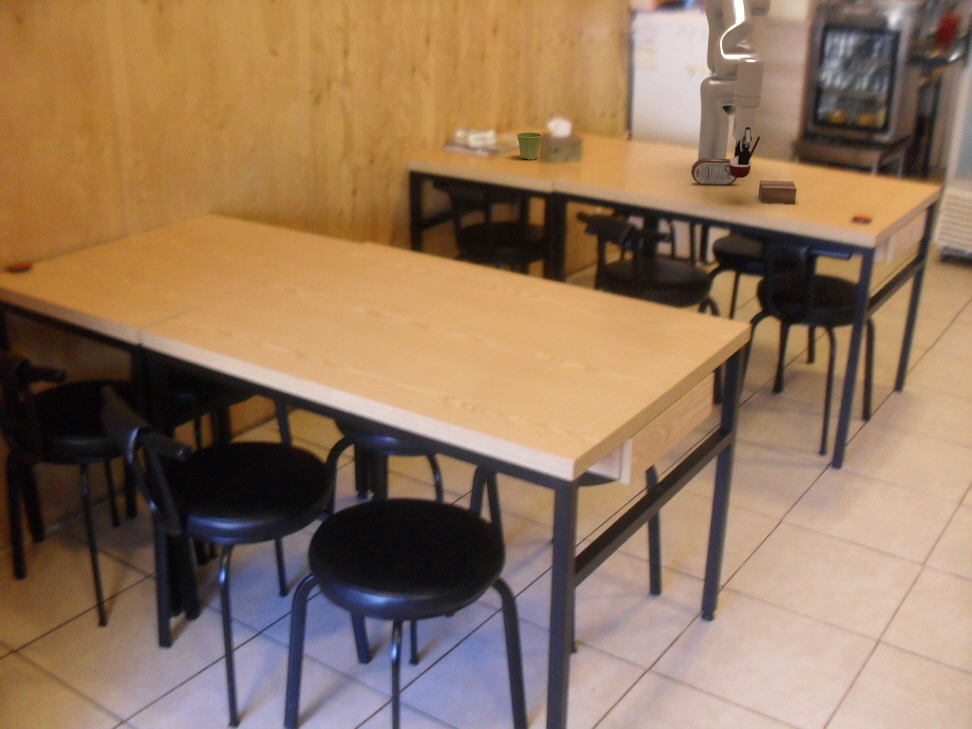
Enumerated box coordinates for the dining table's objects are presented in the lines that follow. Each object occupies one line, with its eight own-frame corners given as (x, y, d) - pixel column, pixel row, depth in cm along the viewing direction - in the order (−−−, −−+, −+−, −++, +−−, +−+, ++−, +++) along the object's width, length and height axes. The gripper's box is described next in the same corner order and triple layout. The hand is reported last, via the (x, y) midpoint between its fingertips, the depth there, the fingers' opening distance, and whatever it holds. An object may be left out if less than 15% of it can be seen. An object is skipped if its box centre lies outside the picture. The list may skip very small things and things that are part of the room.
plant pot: (545, 160, 374) (545, 136, 371) (520, 161, 372) (520, 137, 368) (537, 155, 382) (537, 131, 379) (512, 156, 380) (513, 133, 377)
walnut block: (758, 196, 323) (759, 180, 321) (791, 197, 322) (793, 181, 320) (760, 204, 314) (762, 187, 312) (794, 205, 312) (796, 188, 311)
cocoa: (722, 178, 313) (724, 139, 308) (728, 173, 318) (729, 134, 313) (754, 180, 309) (756, 140, 304) (759, 175, 314) (761, 135, 309)
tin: (737, 184, 338) (739, 158, 334) (738, 186, 335) (740, 160, 332) (690, 183, 339) (692, 157, 336) (691, 185, 336) (692, 159, 333)
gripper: (729, 95, 312) (724, 155, 320) (739, 106, 297) (733, 168, 304) (754, 95, 312) (748, 155, 319) (765, 106, 296) (759, 169, 304)
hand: (741, 161), depth 312 cm, fingers closed on cocoa, 5 cm apart
